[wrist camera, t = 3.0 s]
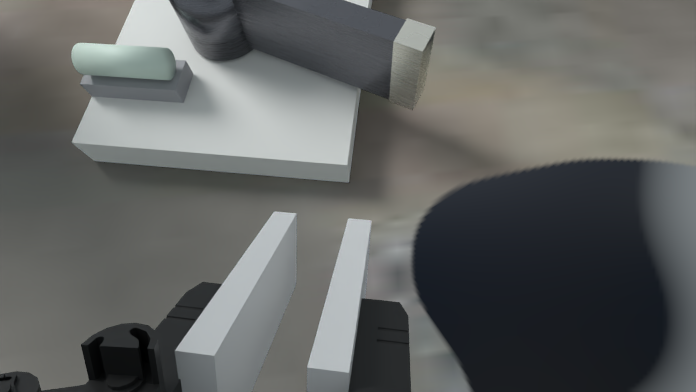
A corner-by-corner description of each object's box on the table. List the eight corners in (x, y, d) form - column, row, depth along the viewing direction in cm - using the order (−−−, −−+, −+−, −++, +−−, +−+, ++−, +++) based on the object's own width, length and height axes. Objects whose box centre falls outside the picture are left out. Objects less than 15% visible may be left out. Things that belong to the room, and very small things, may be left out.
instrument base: (94, 161, 35) (33, 112, 29) (174, -32, 45) (141, -100, 38) (348, 182, 33) (344, 136, 27) (375, -24, 43) (376, -95, 36)
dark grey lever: (176, 46, 36) (135, -26, 29) (217, -3, 38) (187, -80, 32) (401, 134, 31) (410, 71, 25) (433, 73, 33) (448, 0, 27)
